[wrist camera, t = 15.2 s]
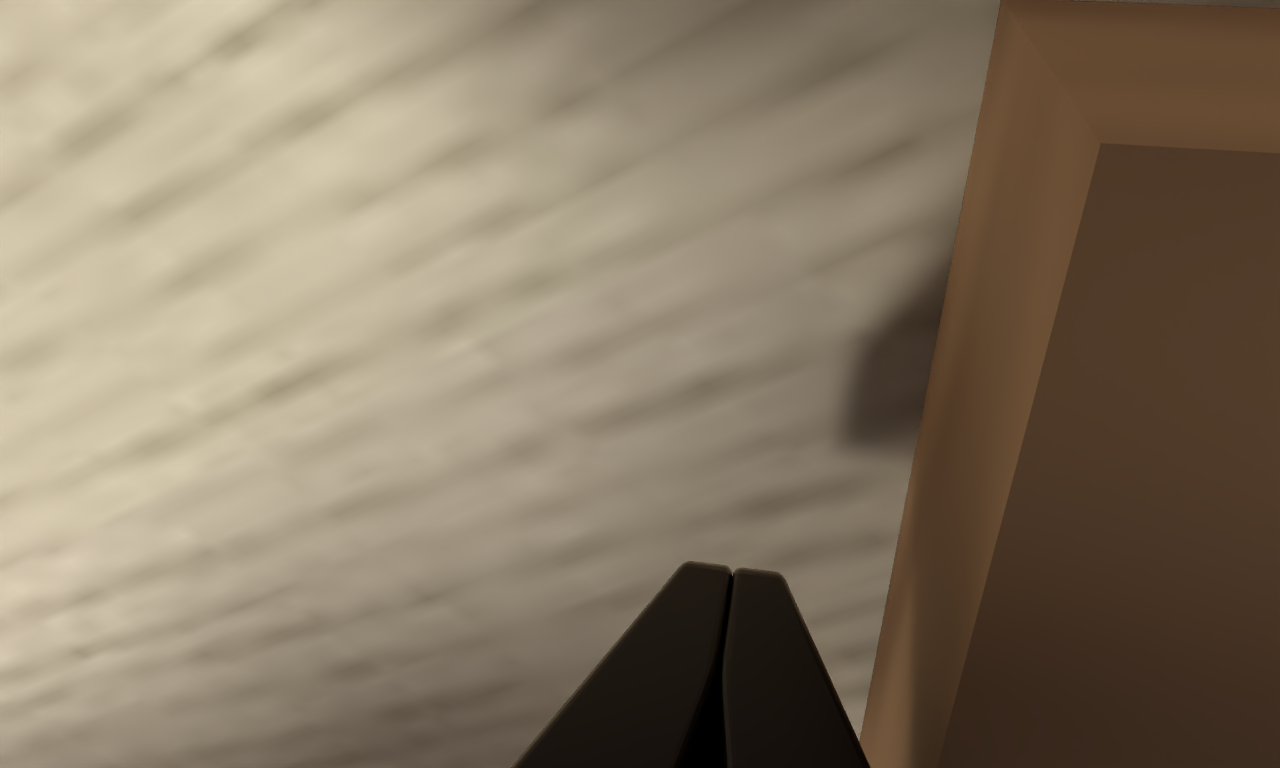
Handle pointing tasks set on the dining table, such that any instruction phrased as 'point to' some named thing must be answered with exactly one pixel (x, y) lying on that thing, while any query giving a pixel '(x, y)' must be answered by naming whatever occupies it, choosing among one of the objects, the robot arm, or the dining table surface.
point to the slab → (1101, 411)
